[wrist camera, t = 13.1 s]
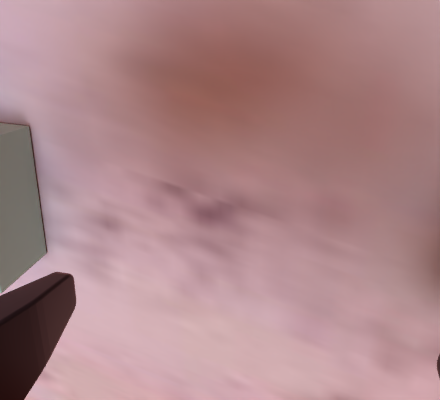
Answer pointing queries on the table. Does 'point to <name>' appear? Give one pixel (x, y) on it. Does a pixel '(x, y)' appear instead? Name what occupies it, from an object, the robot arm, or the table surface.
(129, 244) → the table surface
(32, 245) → the socket block
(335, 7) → the table surface
